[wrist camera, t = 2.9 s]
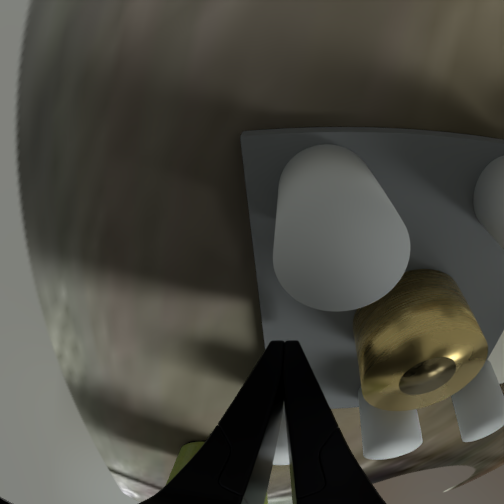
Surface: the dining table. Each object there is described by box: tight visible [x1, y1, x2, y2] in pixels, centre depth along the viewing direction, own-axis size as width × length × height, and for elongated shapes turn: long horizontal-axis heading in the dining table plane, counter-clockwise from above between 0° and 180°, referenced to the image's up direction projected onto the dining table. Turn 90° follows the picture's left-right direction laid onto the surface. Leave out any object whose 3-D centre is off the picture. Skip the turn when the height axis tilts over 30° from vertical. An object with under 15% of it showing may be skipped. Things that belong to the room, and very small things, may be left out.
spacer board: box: [240, 127, 504, 465], centre depth 9 cm, size 15×12×4 cm
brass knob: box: [353, 269, 488, 411], centre depth 9 cm, size 4×4×3 cm
